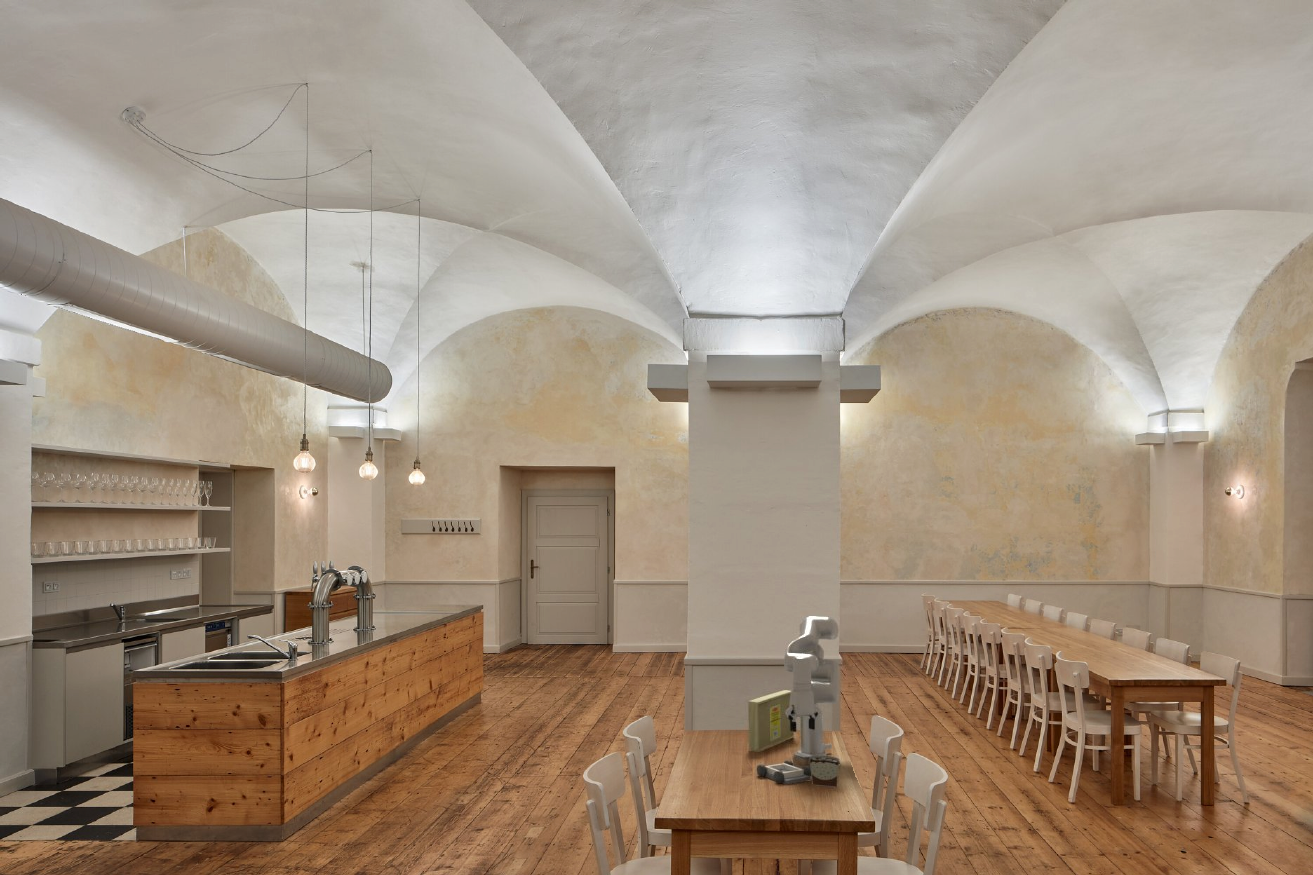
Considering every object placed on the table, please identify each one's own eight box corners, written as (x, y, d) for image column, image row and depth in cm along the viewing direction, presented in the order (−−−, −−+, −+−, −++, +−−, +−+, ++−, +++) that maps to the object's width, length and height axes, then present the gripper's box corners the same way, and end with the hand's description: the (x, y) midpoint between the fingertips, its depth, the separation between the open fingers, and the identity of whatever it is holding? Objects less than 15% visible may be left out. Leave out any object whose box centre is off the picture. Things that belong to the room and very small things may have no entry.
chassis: (784, 769, 377) (784, 758, 377) (813, 779, 361) (813, 768, 362) (754, 774, 369) (754, 763, 369) (783, 785, 354) (783, 773, 354)
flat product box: (785, 736, 438) (784, 689, 440) (794, 738, 435) (793, 690, 437) (748, 750, 409) (748, 700, 411) (757, 752, 406) (757, 701, 409)
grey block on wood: (802, 767, 381) (802, 752, 381) (813, 771, 375) (813, 755, 375) (792, 768, 378) (792, 753, 379) (804, 772, 372) (803, 757, 373)
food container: (843, 783, 356) (842, 756, 357) (841, 787, 351) (840, 760, 352) (811, 780, 360) (810, 754, 361) (808, 784, 355) (808, 757, 356)
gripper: (812, 684, 387) (812, 726, 385) (779, 687, 378) (780, 730, 376) (824, 686, 381) (824, 729, 379) (791, 689, 372) (791, 733, 370)
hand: (802, 730), depth 378 cm, fingers open, 9 cm apart
